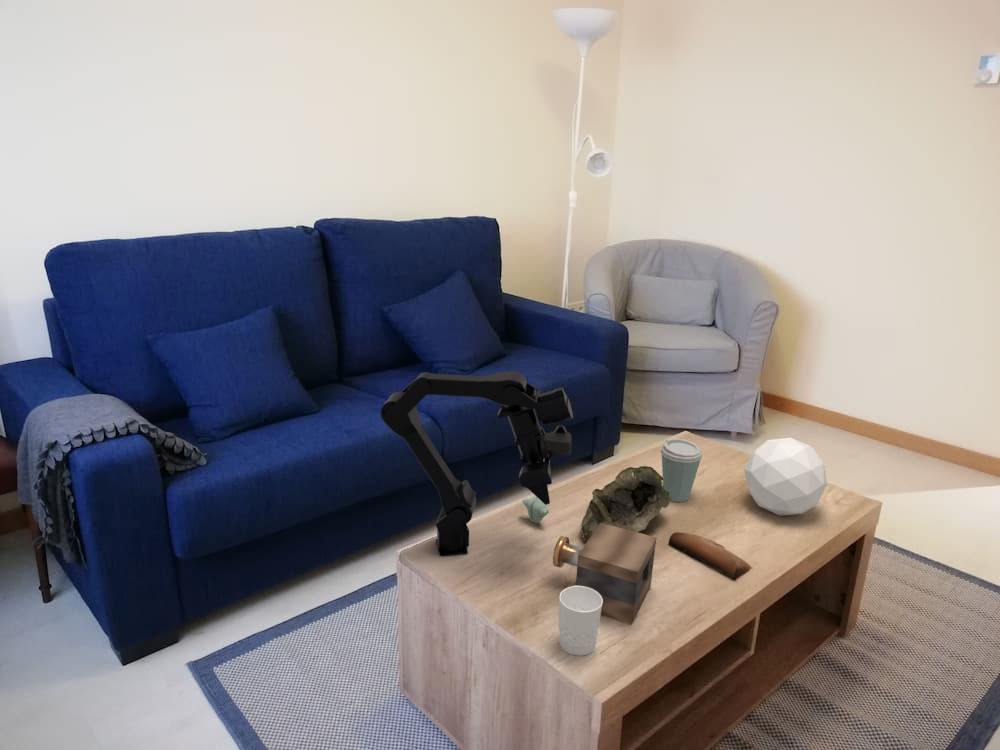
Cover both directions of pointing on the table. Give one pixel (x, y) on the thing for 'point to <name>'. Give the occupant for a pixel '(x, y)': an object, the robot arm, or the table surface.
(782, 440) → the geometric sphere
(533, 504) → the pale green bulging piece
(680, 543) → the sunglasses case
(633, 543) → the walnut block
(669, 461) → the disposable coffee cup
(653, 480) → the hollow geode rock
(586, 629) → the white cup
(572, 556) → the capped peg
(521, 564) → the table surface
